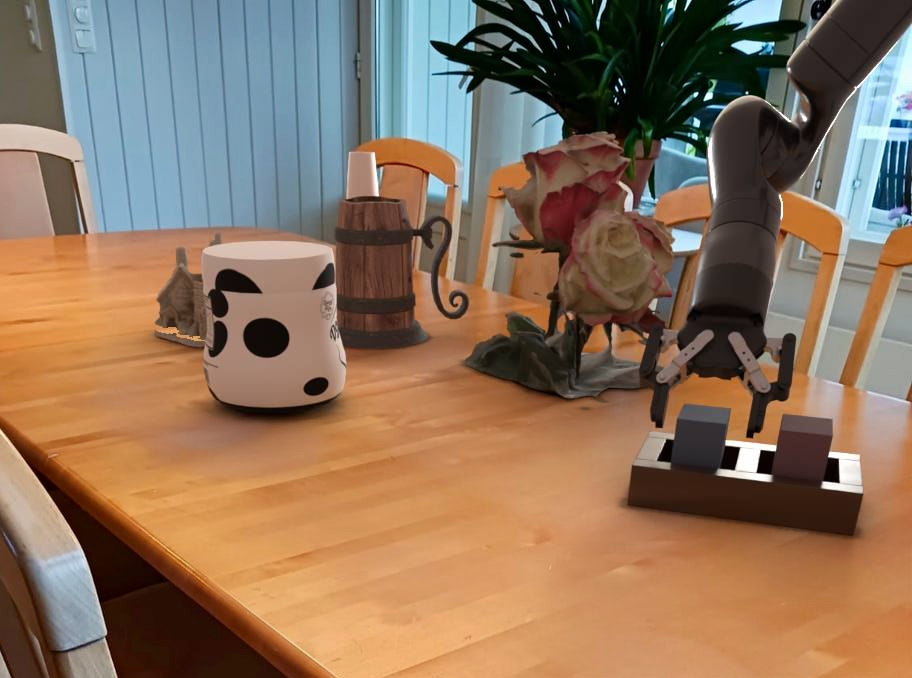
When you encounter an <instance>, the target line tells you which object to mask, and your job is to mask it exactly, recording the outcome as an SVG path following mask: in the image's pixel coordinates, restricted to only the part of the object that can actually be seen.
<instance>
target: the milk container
mask: <svg viewBox="0 0 912 678" xmlns="http://www.w3.org/2000/svg"><path fill="white" fill-rule="evenodd" d="M209 246H210V245H209ZM209 246H207V247H204V248H203V249H204V250H203V251H202V256H201V255H200V257H201V263H200V264H201V265H200V266H201V269H200V270H201V272H200V273H201V274H202V280H203V284H204V286H203V294H204V301H205V309H206V317H207V336H206V342H205V346H204V347H203V348H204V349H203V358H202V361H203V362H202V366H203V374H204V378H205V382H206V385H207V387H208V391H209V392H210V394H211V396H212V397H213V398H214V400H216V401H217V402H218V403H219V404H221V405H223V406H225V407H229V408H231V409H234V410H237V411H238V410H239V411H245V412H251V413H259V414H260V413H261V414H263V413H264V414H265V413H266V414H281V413H282V414H283V413H295V412H300V411H308V410H311V409H316V408H319V407H322V406H325V405H328V404H330V403H331V402H332V401H334V400H335V399H337V398H338V397H339V396H340V395H342V392H343V389H344V388H345V384H346V383H345V382H346V375H347V356H346V351H345V348H344V347H345V346H343V344H342V341H341V337H340V334H339V330H338V324H337V294H336V262H335V256H334V251H333V248H332V247H331V246H329V245H326V244H320V243H315V242H306V241H295V240H293V241H291V240H250V241H236V242H235V241H234V242H227V243H223V244H219V245H214V246H210V247H209Z"/></svg>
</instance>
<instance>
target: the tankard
mask: <svg viewBox="0 0 912 678" xmlns="http://www.w3.org/2000/svg"><path fill="white" fill-rule="evenodd" d="M437 222H441V223H443V225H444V235H443V238H442V241H441V244H440V246H439V247H438V250H437V251H436V253H435V255H434V258H433V261H432V265H431V271H430V287H431V288H430V289H431V294H432V298H433V301H434V305H435V306H436V308H437V311H439V312H440V313H441V314H442V315H443V316H444V317H445V318H447V319H449V320H458V319H461V318H462V317H463V316H465V314H466V313H467V312H468V309H469V306H470V298H469V296H468V295H467V294H466V293H465V292H464V291H462V290H461V289H454V290H452V291H451V292H450V294H449V295H448V302H449V304H450V306H451V307H452V308H458V307H459V308H458V309H457V310H455V311H449V310H446V309H445V307H444V305H443V303H442V299H441V296H440V291H439V290H440V289H439V274H440V273H439V272H440V267H441V264H442V262H443V259H444V257H445V255H446V254H447V251H448V249H449V247H450V245H451V242H452V239H453V227H452V223H451V221H450V220H449V219H448V218H447V217H445V216H443V215H441V214H433V215H431V216H427V218H426V219H425V220H423V222H422V224H421V226H420V227H419V228H413V226H411V219H410V213H409V208H408V201H407V200H406V199H403V198H391V197H385V196H380V195H379V196H357V197H353V198H349V199H346V198H341V199H339V201H338V209H337V215H336V225H335V226H333V229H334V230H333V239H334V240H335V284H336V294H337V324H338V330H339V334H340V337H341V341H342V344H343V347H350V348H359V349H391V348H392V349H393V348H402V347H408V346H414V345H417V344H421V343H422V342H425V341H426V340H427V339H428V338H429V335H428V334H427V332H425V330H424V329H423V327H422V324H421V323H420V322H419V321H418V320H417V319H416V317H415V307H416V305H417V303H416V301H417V300H416V292H415V291H414V272H413V271H414V270H413V269H414V268H413V240H414V237H419V238H421V241H422V243H423V244H424V245H425V246H426V248H428V249H429V250H433V249H434V247H435V245H434V244H433V241H432V238H433V228H432V227H433V225H434V224H435V223H437ZM457 297H461V305H460V306H459V303H458V302H456V303H454V300H455V299H456V298H457Z"/></svg>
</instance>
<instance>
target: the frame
mask: <svg viewBox="0 0 912 678" xmlns="http://www.w3.org/2000/svg"><path fill="white" fill-rule="evenodd" d="M674 436H675V433H670V432H660V431H653V430H652V431H651V430H649V432H648V433H647V435H646V438H645V440H644V441H643V443H642V446H641V447H640V449H639V451H638V452H637V455H636V457H635V458H634V459H633V462H632V464H631V469H630V477H629V478H630V479H629V485H628V494H627V502H626V503H627V504H626V505H628V506H635V507H641V508H648V509H655V510H663V511H671V512H677V513H685V514H693V515H698V516H699V515H700V516H708V517H716V518H722V519H729V520H730V519H731V520H738V521H745V522H751V523H752V522H753V523H757V524H758V523H760V524H765V525H766V524H767V525H774V526H781V527H790V528H795V529H804V530H812V531H817V532H818V531H819V532H824V533H825V532H826V533H834V534H841V535H847V536H854V534H855V531H856V527H857V522H858V519H859V515H860V511H861V507H862V502H863V498H864V494H865V493H864V484H863V474H862V473H863V472H862V465H861V464H862V463H861V455H860V454H855V453H846V452H837V451H830V452H829V456H828V461H827V465H826V470H825V474H824V479H823V481H815V480H807V479H799V478H790V477H782V476H774V475H771V472H772V466H773V461H774V456H775V451H776V446H777V444H776V445H774V444H767V443H759V442H758V443H757V442H749V441H741V440H732V439H726V443H725V449H724V455H723V461H722V467H721V469H716V468H708V467H700V466H692V465H683V464H675V463H671V457H672V450H673V443H674Z"/></svg>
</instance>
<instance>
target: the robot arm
mask: <svg viewBox="0 0 912 678" xmlns="http://www.w3.org/2000/svg"><path fill="white" fill-rule="evenodd" d="M911 25H912V0H835V1H834V3H833V4H832V5H831V6H830V8H829V9H828V10H827V11H826V13H824V15H823V16H821V18H820V20H819V21H818V22H817V23H816V24H815V26H814V27H813V28H812V29H811V30H810V32H809V33H807V35H806V37H805V39H803V40H802V42H801V43H800V44H799V45H798V47H797V48H796V49H795V50H794V52H793V53H792V55H790V57H789V59H788V60H787V63H786V66H785V72H786V73H785V74H786V77H787V78H788V81H789V82H790V84H791V85H792V87H793V88H794V89H795V91H796V92H797V94H798V96H799V97H800V99H799V103H798V106H797V109H796V111H795V114H794V116H793V117H792V119H791V120H789V118H787V117H786V116H785V115H783V114H782V113H781V112H780V111H778V109H776V108H775V107H774V106H773V105H771V104H770V103H769V102H768V101H766V100H765V99H763V98H762V97H760V96H756V95H743V96H740V97H738V98H736V99H734V100H732V101H730V102H729V103H728V104H727V105H726V106H725V107H724V108H723V109H722V111H720V113H719V114H718V116H717V118H716V119H715V121H714V123H713V124H712V127H711V130H710V133H709V137H708V139H707V145H706V171H707V182H708V184H707V185H708V195H709V196H708V197H709V202H710V215H709V217H708V218H709V219H708V224H707V227H706V228H707V229H706V233H705V238H704V243H703V246H702V247H701V251H700V254H699V257H698V260H697V264H696V268H695V269H696V270H695V274H694V279H693V283H692V284H693V285H692V289H691V294H690V298H689V304H688V308H687V312H686V317H685V321H684V324H683V326H682V327H681V328H680V329H679V330H673V329H668V328H667V329H666V328H665V329H663V325H662V324H661V323H654V324H653V325H652V326H651V329H650V333H649V334H648V336H647V339H648V340H647V343H646V346H645V347H644V350H643V353H642V357H641V361H640V363H641V364H640V368H639V382H640V386H641V387H640V388H642V389H651V391H652V392H653V393H652V398H651V403H650V407H649V418H650V421H651V422H652V423H654V428H655V429H664V425H665V420H666V416H667V410H668V405H669V400H670V392H672V390H674V389H675V388H676V387H677V386H678V385H680V384H681V385H682V384H684V383H685V382H686V381H687V380H689V379H690V378H691V377H692V376H694V374H695V375H697V376H698V378H699V379H700V378H702V379H709V378H717V379H720V380H724V381H732V379H733V378H737V379H738V381H739V382H740V384H741V385H742V387H743V388H744V390H746V391H747V392H748V393H749V395H750V396H751V398H752V401H751V405H750V411H749V417H748V421H747V427H746V433H745V439H754V436H755V434H761V432H762V431H763V429H764V425H765V418H766V415H767V414H766V412H767V408H768V405H769V404H770V403H772V402H775V401H778V402H780V403H783V402H787V400H788V399H789V398H790V392H791V388H792V385H793V374H794V366H795V355H796V346H797V335H796V334H795V333H793V332H788V333H785V334H784V335H783V337H767V335H766V333H765V326H766V320H767V314H768V309H769V304H770V299H771V294H772V289H773V287H774V278H775V272H776V266H777V265H776V262H777V246H778V240H779V235H780V229H781V225H782V219H783V210H784V209H783V207H784V206H783V201H782V200H783V199H782V198H781V195H782V194H784V193H786V192H787V191H789V190H790V189H791V188H793V187H794V186H795V185H796V184H798V182H799V181H800V179H802V177H803V176H804V175H805V173H806V172H807V170H808V168H809V167H810V165H811V163H812V162H813V160H814V158H815V156H816V154H817V152H818V149H820V146H821V145H822V143H823V141H824V139H825V138H826V135H827V134H828V133H829V131H830V129H831V127H832V126H833V124H834V122H835V120H836V119H837V117H838V115H839V113H840V112H841V110H842V109H843V107H844V105H845V104H846V102H847V101H848V99H850V97H851V96H852V95H853V94H854V93H855V92H856V91H857V88H860V86H861V85H862V84H863V83H864V81H865V80H866V79H867V78H868V77H869V76H870V75H871V73H873V71H874V70H875V69H876V68H877V67H878V66H879V64H880V63H881V62H882V61H883V60H884V59H885V57H886V56H887V55H888V54H889V53H890V52H891V50H892V49H893V48H894V47H895V46H896V44H898V42H899V41H900V39H901V38H902V37H903V36H904V34H905V33H906V32H907V31H908V29H909V28H910V27H911ZM673 345H676V346H677V348H678V351H679V352H678V353H677V354H676V355H675V356H674V357H673V358H672V360H671V362H670V363H669V364H668V365H667V366H665V367H666V368H664V369H663V370H662V371H661V372H660V373H659V372H657V371H656V367H657V364H658V365H659V360H660V356H661V354H665V353H667V352H668V351H669V349H670V348H671V346H673ZM765 353H769V355H770V356H771V357H770V358H771V360H772V361H773V362H774V363H775V364H778V369H777V370H778V371H777V380H776V381H771V382H769V380H768V378H767V376H765V374H764V373H763V371H762V367H761V365H760V363H759V362H758V360H759V359H760V358H761V357H762V356H763V355H764V354H765Z"/></svg>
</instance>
